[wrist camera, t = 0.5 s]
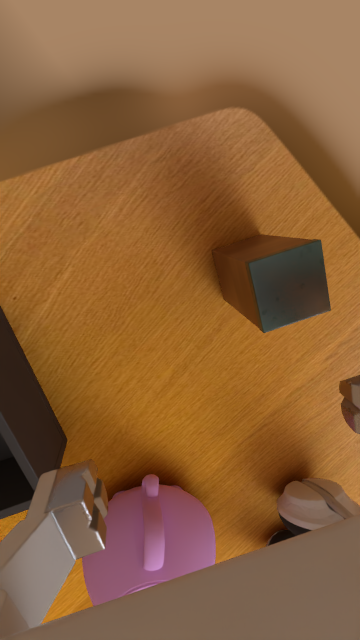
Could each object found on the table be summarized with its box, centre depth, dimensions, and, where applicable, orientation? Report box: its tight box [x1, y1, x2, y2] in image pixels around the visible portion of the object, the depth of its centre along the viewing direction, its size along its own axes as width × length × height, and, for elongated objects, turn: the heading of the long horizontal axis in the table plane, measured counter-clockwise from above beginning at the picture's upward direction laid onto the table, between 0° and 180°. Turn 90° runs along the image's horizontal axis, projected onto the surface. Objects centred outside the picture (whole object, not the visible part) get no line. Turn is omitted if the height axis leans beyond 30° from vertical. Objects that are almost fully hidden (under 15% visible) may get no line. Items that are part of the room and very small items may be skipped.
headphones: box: [266, 478, 360, 546], centre depth 32 cm, size 19×8×20 cm, turn 175°
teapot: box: [82, 474, 215, 606], centre depth 33 cm, size 20×14×12 cm
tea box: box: [212, 235, 331, 333], centre depth 26 cm, size 5×5×10 cm
